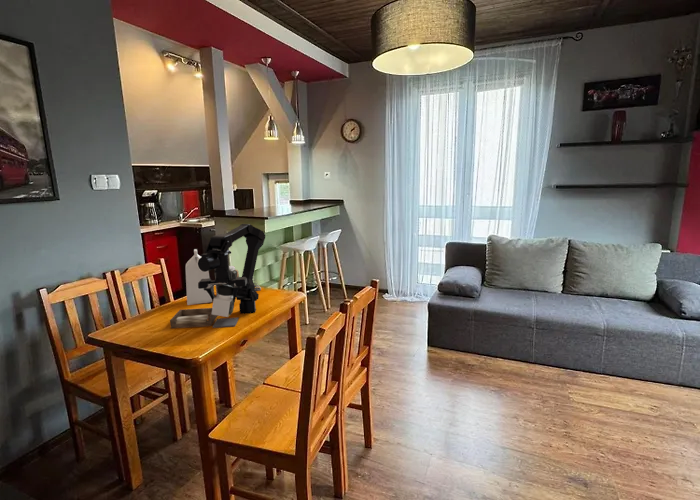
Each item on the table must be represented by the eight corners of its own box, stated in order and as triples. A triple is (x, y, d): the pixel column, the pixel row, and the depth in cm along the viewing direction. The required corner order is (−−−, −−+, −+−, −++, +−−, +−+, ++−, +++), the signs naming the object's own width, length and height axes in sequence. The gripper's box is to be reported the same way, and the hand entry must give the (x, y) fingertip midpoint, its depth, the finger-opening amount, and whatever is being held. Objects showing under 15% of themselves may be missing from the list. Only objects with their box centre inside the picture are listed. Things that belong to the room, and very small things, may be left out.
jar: (226, 299, 191) (224, 270, 188) (212, 296, 197) (209, 268, 195) (244, 293, 201) (242, 266, 198) (230, 290, 207) (228, 264, 204)
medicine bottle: (228, 317, 154) (232, 289, 152) (211, 314, 154) (214, 286, 152) (233, 311, 161) (237, 285, 159) (216, 309, 161) (220, 282, 159)
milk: (187, 298, 194) (183, 249, 189) (211, 295, 198) (207, 247, 194) (187, 305, 183) (182, 253, 178) (212, 302, 187) (208, 251, 183)
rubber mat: (238, 318, 163) (238, 317, 163) (235, 326, 154) (235, 325, 154) (217, 320, 162) (217, 318, 162) (212, 327, 153) (212, 326, 153)
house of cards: (263, 287, 214) (263, 274, 213) (264, 291, 206) (263, 277, 205) (247, 288, 212) (246, 275, 211) (247, 292, 204) (246, 278, 203)
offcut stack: (209, 323, 159) (208, 314, 158) (208, 325, 157) (207, 316, 156) (177, 325, 156) (177, 316, 156) (176, 327, 154) (175, 318, 153)
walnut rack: (218, 315, 168) (217, 307, 167) (211, 325, 155) (210, 317, 154) (180, 317, 166) (180, 309, 165) (170, 328, 153) (170, 320, 152)
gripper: (247, 261, 163) (249, 295, 166) (203, 263, 160) (206, 297, 163) (243, 266, 152) (246, 303, 155) (196, 268, 149) (199, 306, 152)
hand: (224, 302), depth 156 cm, fingers closed on medicine bottle, 7 cm apart
